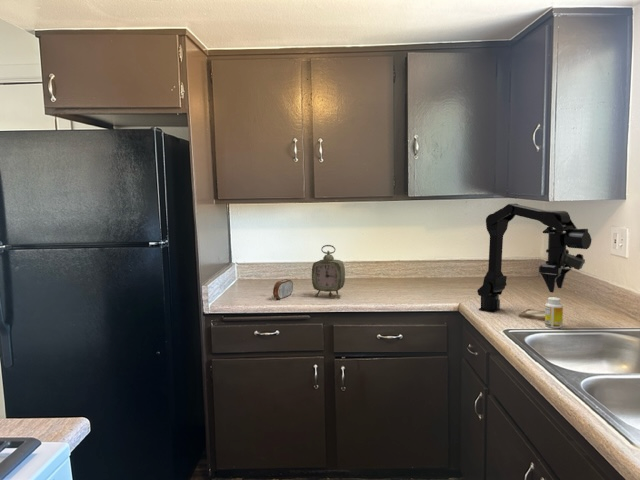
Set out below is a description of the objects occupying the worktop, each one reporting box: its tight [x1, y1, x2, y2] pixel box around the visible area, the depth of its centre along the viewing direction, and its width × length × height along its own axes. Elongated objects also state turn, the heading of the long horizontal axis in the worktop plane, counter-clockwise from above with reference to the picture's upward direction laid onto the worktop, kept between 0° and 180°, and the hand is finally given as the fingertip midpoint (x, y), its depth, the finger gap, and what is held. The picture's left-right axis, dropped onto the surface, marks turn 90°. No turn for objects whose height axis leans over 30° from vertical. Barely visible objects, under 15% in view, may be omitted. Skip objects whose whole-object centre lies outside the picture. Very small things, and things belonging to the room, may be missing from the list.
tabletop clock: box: [311, 244, 346, 299], centre depth 215 cm, size 14×9×25 cm, turn 72°
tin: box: [272, 278, 294, 300], centre depth 217 cm, size 15×3×8 cm, turn 154°
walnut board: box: [518, 308, 545, 322], centre depth 175 cm, size 10×10×1 cm
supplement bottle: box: [544, 296, 564, 329], centre depth 161 cm, size 6×6×10 cm
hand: (555, 290), depth 161 cm, fingers open, 9 cm apart
